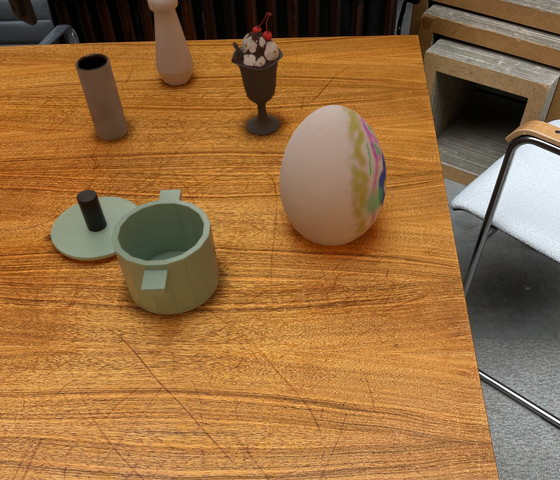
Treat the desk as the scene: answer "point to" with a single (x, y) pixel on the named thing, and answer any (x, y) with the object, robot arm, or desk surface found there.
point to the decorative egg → (333, 176)
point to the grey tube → (102, 96)
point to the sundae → (259, 75)
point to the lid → (89, 226)
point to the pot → (167, 254)
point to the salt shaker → (170, 43)
